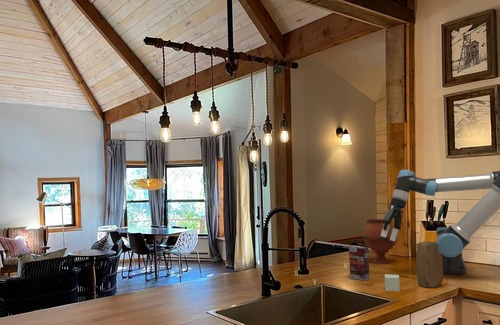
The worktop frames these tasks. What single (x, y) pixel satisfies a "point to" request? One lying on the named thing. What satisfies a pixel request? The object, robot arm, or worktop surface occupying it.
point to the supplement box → (359, 262)
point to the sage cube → (392, 283)
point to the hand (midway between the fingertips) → (388, 238)
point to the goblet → (378, 239)
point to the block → (429, 264)
